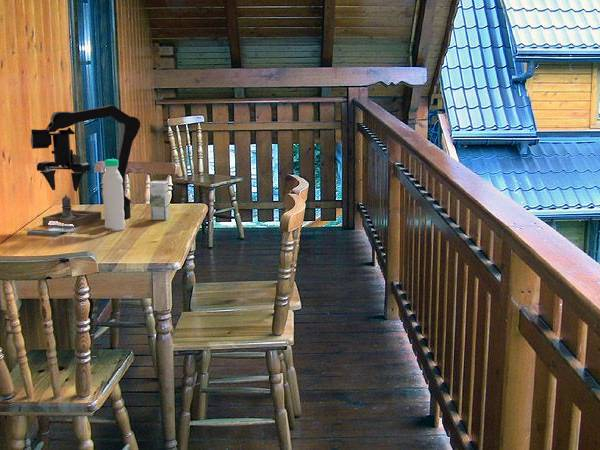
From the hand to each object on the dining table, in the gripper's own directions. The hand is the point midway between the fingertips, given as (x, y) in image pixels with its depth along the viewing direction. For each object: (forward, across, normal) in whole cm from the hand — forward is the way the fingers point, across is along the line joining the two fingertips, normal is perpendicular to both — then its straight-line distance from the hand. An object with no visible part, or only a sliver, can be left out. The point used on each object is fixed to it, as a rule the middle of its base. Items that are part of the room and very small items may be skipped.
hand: (64, 190), depth 299 cm
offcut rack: (+13, -1, -2) cm, 13 cm away
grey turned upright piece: (+13, -1, +1) cm, 13 cm away
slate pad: (+13, -1, +12) cm, 18 cm away
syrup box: (+13, -27, -21) cm, 37 cm away
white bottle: (+13, -20, +1) cm, 24 cm away
